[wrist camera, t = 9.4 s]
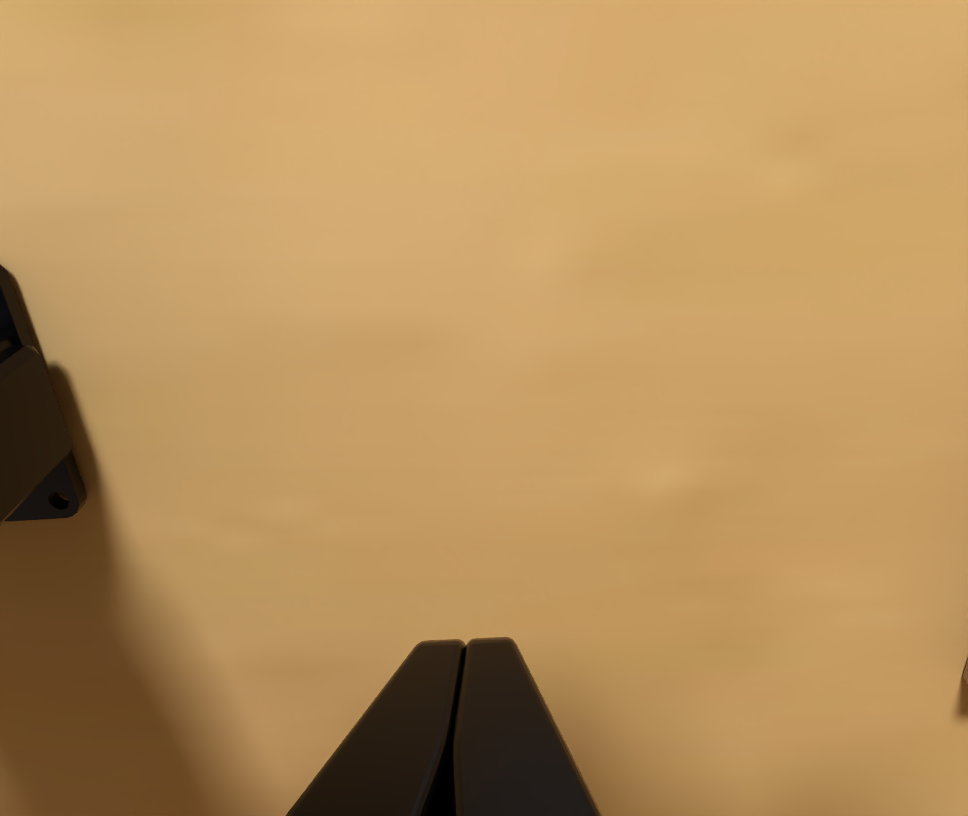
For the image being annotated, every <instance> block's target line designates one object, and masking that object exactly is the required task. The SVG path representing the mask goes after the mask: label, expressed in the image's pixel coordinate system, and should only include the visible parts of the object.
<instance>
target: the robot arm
mask: <svg viewBox="0 0 968 816" xmlns="http://www.w3.org/2000/svg"><path fill="white" fill-rule="evenodd" d="M71 449H72V441H71V439H70V436H69V433H68V430H67V427H66V425H65V422H64V419H63V416H62V413H61V411H60V408H59V405H58V402H57V399H56V396H55V394H54V391H53V388H52V385H51V382H50V380H49V377H48V374H47V371H46V368H45V365H44V363H43V360H42V357H41V355H40V353H39V352H38V351H37V350H36V349H35V347H34V344H33V341H32V338H31V335H30V333H29V330H28V327H27V324H26V321H25V319H24V316H23V313H22V310H21V307H20V305H19V302H18V299H17V296H16V293H15V291H14V288H13V285H12V282H11V279H10V277H9V275H8V273H7V271H6V270H5V268H4V267H2V266H1V265H0V525H1V524H2V523H3V522H5V521H22V520H39V519H56V518H67V517H71V516H73V515H74V514H75V513H77V512H78V511H79V509H80V508H81V507H82V506H83V505H84V503H85V501H86V498H87V495H86V489H85V487H84V484H83V481H82V478H81V475H80V473H79V470H78V467H77V464H76V461H75V459H74V456H73V453H72V450H71ZM57 492H60V493H62V494H64V495H66V496H67V498H68V499H69V501H68V500H64V499H62V498H61V497H59V495H58V494H57ZM286 816H602V815H601V813H600V811H599V809H598V807H597V805H596V803H595V801H594V799H593V797H592V795H591V793H590V791H589V789H588V787H587V785H586V783H585V781H584V779H583V777H582V775H581V773H580V771H579V769H578V767H577V765H576V763H575V761H574V759H573V757H572V755H571V753H570V751H569V749H568V747H567V745H566V743H565V741H564V739H563V737H562V735H561V733H560V731H559V729H558V727H557V725H556V723H555V721H554V719H553V717H552V715H551V713H550V711H549V709H548V707H547V705H546V703H545V701H544V699H543V697H542V695H541V693H540V691H539V689H538V687H537V685H536V683H535V681H534V679H533V677H532V675H531V673H530V671H529V669H528V667H527V665H526V663H525V661H524V659H523V657H522V655H521V653H520V651H519V649H518V647H517V645H516V643H515V642H514V641H513V639H511V638H509V637H497V638H475V639H471V640H470V641H469V642H468V643H467V645H465V643H464V642H463V641H461V640H459V639H451V640H428V641H422V642H420V643H419V644H417V645H416V646H415V647H414V649H413V650H412V651H411V653H410V654H409V655H408V656H407V658H406V659H405V660H404V662H403V663H402V664H401V666H400V667H399V668H398V670H397V671H396V672H395V673H394V675H393V676H392V677H391V679H390V680H389V681H388V683H387V684H386V685H385V687H384V688H383V689H382V690H381V692H380V693H379V694H378V696H377V697H376V698H375V700H374V701H373V702H372V704H371V705H370V706H369V707H368V709H367V710H366V711H365V713H364V714H363V715H362V717H361V718H360V719H359V721H358V722H357V723H356V724H355V726H354V727H353V728H352V730H351V731H350V732H349V734H348V735H347V736H346V738H345V739H344V740H343V741H342V743H341V744H340V745H339V747H338V748H337V749H336V751H335V752H334V753H333V755H332V756H331V757H330V758H329V760H328V761H327V762H326V764H325V765H324V766H323V768H322V769H321V770H320V772H319V773H318V774H317V775H316V777H315V778H314V779H313V781H312V782H311V783H310V785H309V786H308V787H307V789H306V790H305V791H304V792H303V794H302V795H301V796H300V798H299V799H298V800H297V802H296V803H295V804H294V806H293V807H292V808H291V809H290V811H289V812H288V813H287V815H286Z"/></svg>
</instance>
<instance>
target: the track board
mask: <svg viewBox="0 0 968 816" xmlns="http://www.w3.org/2000/svg"><path fill="white" fill-rule="evenodd" d="M963 678H964V679H965V681H966V683H967V684H968V661H967V664H966V667H965V670H964V673H963Z"/></svg>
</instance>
